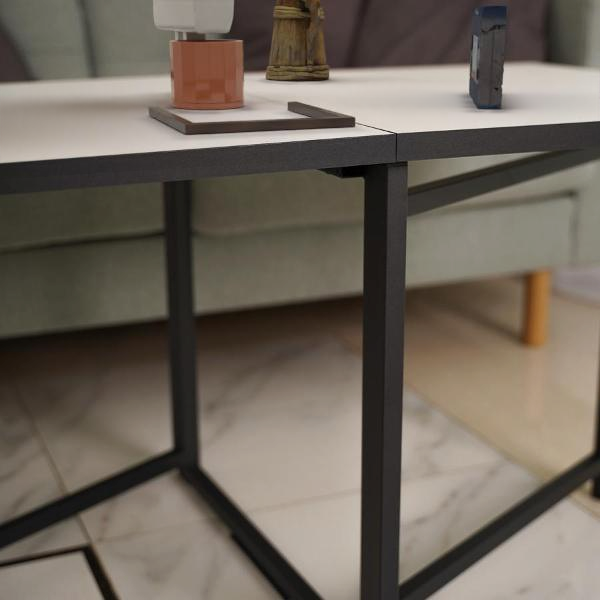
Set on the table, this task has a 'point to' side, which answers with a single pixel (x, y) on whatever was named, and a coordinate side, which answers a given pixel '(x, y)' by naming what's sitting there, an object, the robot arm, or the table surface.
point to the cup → (207, 74)
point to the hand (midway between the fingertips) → (191, 75)
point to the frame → (258, 121)
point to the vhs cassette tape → (487, 55)
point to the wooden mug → (298, 42)
